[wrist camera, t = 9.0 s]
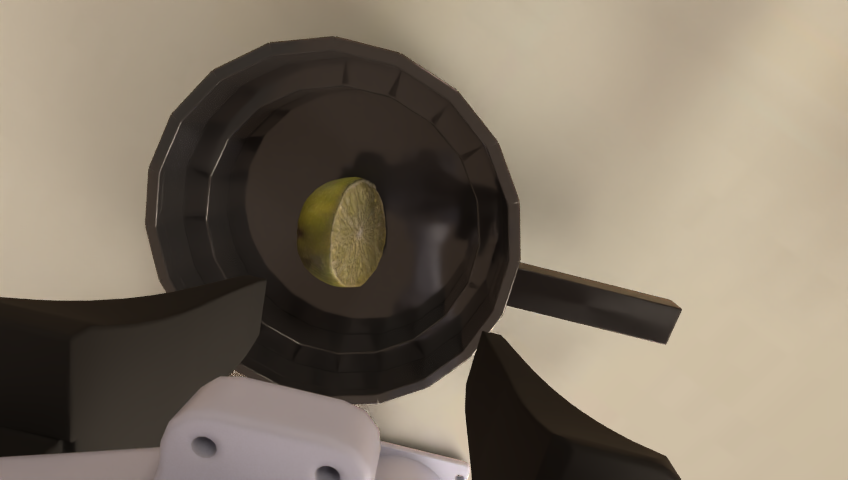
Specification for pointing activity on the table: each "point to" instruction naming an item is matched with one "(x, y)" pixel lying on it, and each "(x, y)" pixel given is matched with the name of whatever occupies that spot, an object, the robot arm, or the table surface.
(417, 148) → the skillet
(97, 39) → the table surface
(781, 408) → the table surface
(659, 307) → the skillet handle
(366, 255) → the lime
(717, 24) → the table surface
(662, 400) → the table surface
